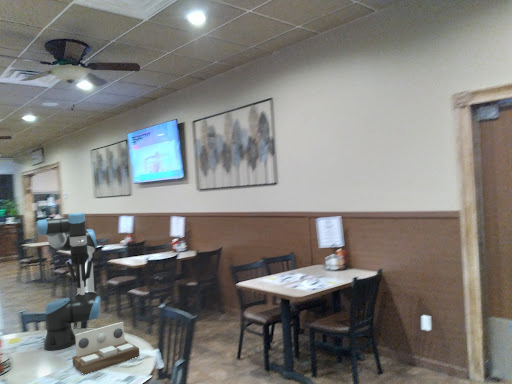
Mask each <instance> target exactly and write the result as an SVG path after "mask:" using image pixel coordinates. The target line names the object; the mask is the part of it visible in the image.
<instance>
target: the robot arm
mask: <svg viewBox="0 0 512 384" xmlns="http://www.w3.org/2000/svg"><path fill="white" fill-rule="evenodd" d="M36 233H37V235H38V236H46V238H47V242H48V244H49V246H50V248H53V249H55V250H58V251H61V252H70V257H69V259H68V260H67V261H65V262H64V264H65V265H66V266H67V268H68V270H69V274H70V277H71V279H72V281H75V282H76V289H77V290H76V291H77V293H76V294H75V295H74V299H73V300H71V299H70V297H64V298H59V299H56V300H53V301H51V302H49V303H47V304H46V306H45V313H44V314H45V322H46V336H45V339H44V342H43V343H44V344H43V347H44V350H45V349H46V350H47V351H59V350H62V349H66V348H69V347H72V346H74V345H76V339H75V334H76V333H75V332H74V330H73V327H72V324H74V323H81V322H82V323H83V322H87V321H93V320H97V319H98V318H99V317H100V313H101V300H102V299H101V296H99V294H98V293H97V292H96V291H95V281H94V279H95V277H94V264H93V263H94V260H95V258H94V257H93V253H94V252H95V250H96V249H97V248H98V243H97V237H96V234H95V233H96V232H95V230H94V229H92V228H88V229H87V220H86V214H85V213H84V212H74V213H69V214H68V215H67V217H61V218H60V217H59V218H44V219H39V220H37V221H36ZM72 263H73V265H74V268H75V269H73V265H72ZM74 270H75V272H74ZM46 350H45V351H46Z"/></svg>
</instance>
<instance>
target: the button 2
mask: <svg viewBox="0 0 512 384" xmlns="http://www.w3.org/2000/svg"><path fill="white" fill-rule="evenodd" d="M129 343H130V342H129ZM129 343H128V344H125V345H122V346H118V347H116V348H117V350H118V351H119V352H124V351H127V350H130V349H133V348H134V346H135V345H134V344H133V345H134V346H133V345H131V344H132V343H131V344H129Z"/></svg>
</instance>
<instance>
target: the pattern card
mask: <svg viewBox="0 0 512 384" xmlns="http://www.w3.org/2000/svg"><path fill="white" fill-rule="evenodd" d="M124 326H125V325H124V321H121V322H116V323H112V324H108V325H106V326H102V327H98V328H94V329H91V330H86V331H81V332H79V333H74V334H75V339H76V343H75V349H76V351H75V352H76V356H77V357H80V356H84V355H87V354H90V353H93V352H97V351H99V350H100V349H103V348H106V347H109V346H117V345H120V344H123V343H125V341H126V339H125V327H124Z"/></svg>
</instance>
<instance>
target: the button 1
mask: <svg viewBox="0 0 512 384" xmlns="http://www.w3.org/2000/svg"><path fill="white" fill-rule="evenodd" d="M96 360H99V356H97V355H96V354H92V355H89V356H86V357H82V358H81V362H83V363H84V364H86V363H89V362H93V361H96Z"/></svg>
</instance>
